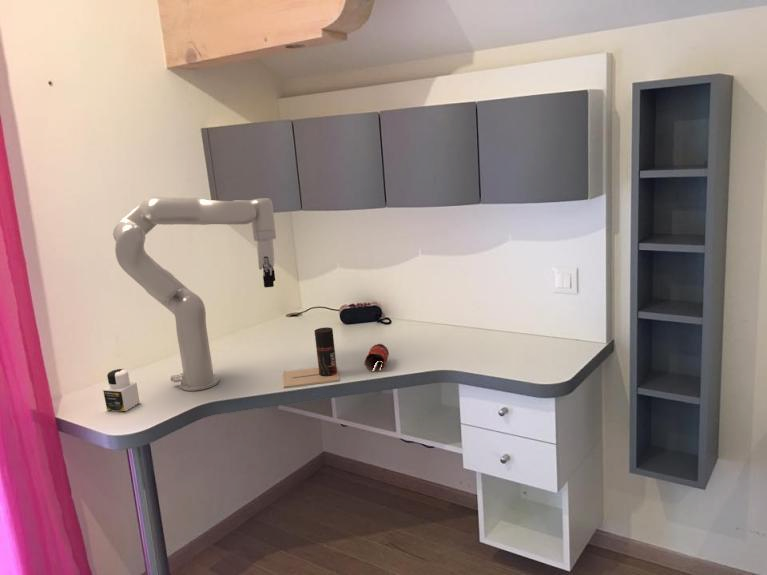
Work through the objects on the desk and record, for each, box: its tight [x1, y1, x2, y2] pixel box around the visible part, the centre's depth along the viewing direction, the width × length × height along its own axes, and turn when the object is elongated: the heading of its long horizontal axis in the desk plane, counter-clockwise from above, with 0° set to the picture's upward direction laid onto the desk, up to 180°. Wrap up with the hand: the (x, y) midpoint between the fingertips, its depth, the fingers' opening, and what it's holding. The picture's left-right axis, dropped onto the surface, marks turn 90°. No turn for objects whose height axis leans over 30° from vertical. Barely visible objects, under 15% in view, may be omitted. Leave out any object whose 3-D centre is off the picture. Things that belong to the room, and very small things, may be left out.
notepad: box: [282, 367, 340, 389], centre depth 217 cm, size 18×14×1 cm
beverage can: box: [364, 343, 390, 373], centre depth 221 cm, size 7×12×7 cm, turn 172°
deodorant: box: [314, 326, 338, 376], centre depth 216 cm, size 6×6×15 cm
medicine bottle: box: [102, 368, 141, 412], centre depth 204 cm, size 7×7×12 cm
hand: (269, 284), depth 226 cm, fingers open, 9 cm apart
